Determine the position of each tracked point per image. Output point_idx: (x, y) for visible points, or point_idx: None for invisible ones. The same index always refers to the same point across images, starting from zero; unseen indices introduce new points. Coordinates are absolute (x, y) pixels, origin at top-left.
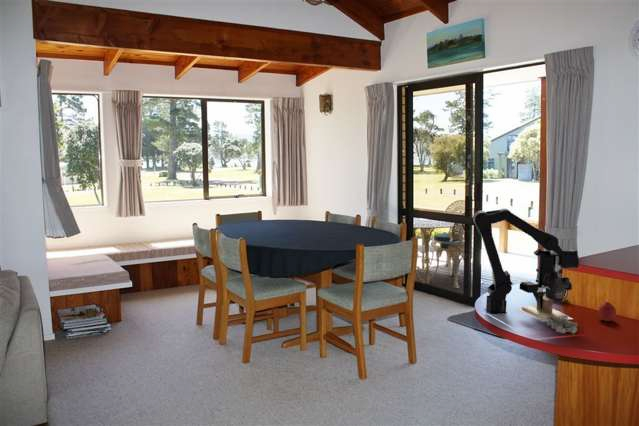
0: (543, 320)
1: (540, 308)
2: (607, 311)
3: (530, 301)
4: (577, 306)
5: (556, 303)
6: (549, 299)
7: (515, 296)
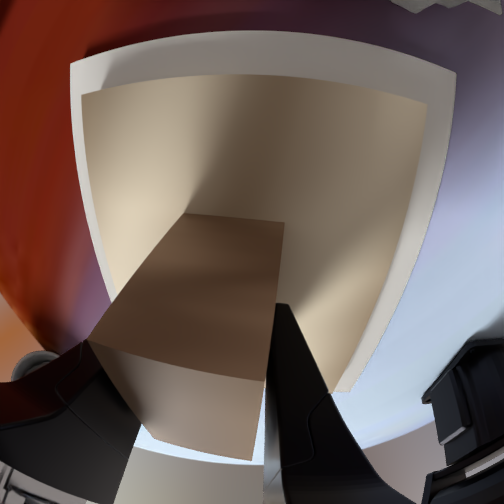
0: (423, 93)
1: (288, 311)
2: None
3: None
4: (11, 293)
5: None
6: (150, 371)
7: None
